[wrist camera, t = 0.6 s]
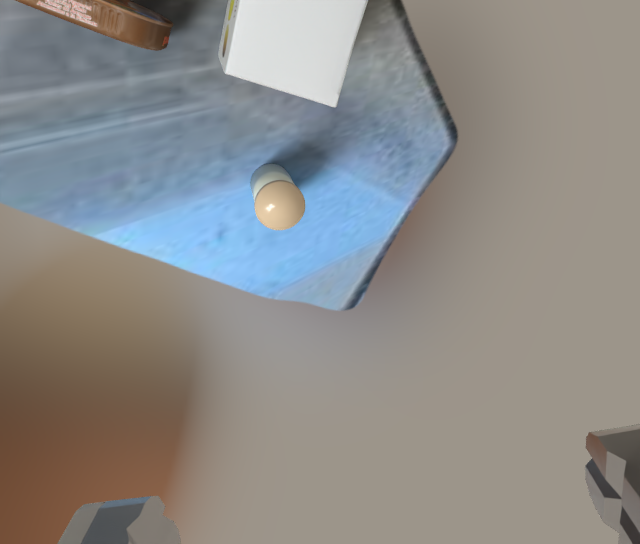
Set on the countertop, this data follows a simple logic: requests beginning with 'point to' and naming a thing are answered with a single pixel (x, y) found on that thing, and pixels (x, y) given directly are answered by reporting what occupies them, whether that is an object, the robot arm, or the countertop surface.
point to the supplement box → (291, 44)
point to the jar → (276, 197)
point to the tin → (112, 19)
